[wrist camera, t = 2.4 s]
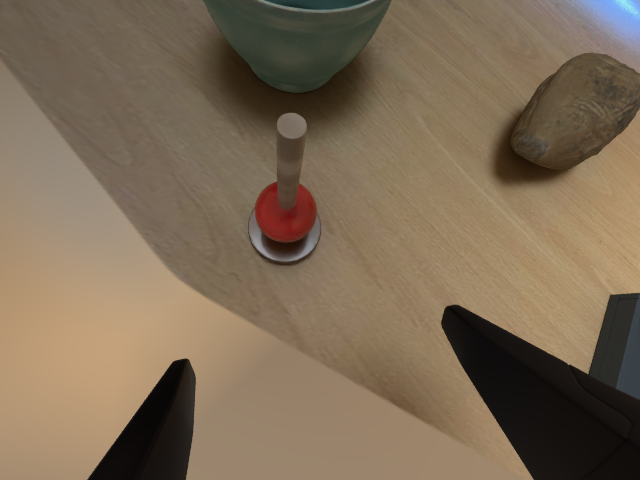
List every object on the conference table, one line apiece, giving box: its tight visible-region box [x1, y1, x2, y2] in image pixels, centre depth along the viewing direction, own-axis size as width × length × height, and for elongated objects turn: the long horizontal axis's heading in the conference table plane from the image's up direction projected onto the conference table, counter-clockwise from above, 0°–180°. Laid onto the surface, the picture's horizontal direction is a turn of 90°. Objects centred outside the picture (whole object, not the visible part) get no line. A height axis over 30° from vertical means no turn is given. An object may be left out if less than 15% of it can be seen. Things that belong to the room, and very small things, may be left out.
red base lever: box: [248, 113, 321, 264], centre depth 18 cm, size 6×6×14 cm
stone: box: [511, 53, 640, 170], centre depth 28 cm, size 17×9×8 cm, turn 131°
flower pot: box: [204, 0, 391, 93], centre depth 24 cm, size 16×16×11 cm
